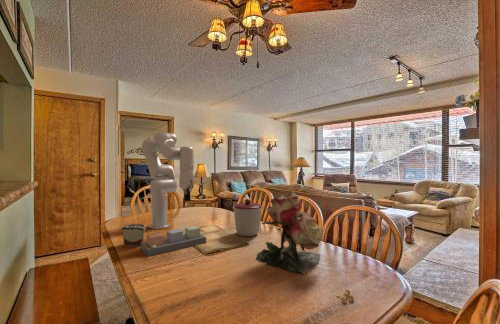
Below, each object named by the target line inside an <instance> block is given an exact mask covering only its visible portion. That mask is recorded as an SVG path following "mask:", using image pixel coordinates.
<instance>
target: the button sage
mask: <svg viewBox="0 0 500 324" xmlns="http://www.w3.org/2000/svg"><path fill="white" fill-rule="evenodd" d="M184 234H185V237H187V238H188V239H192V238H197V237H200V234H201V227H199V226H196V225H192V226H185V227H184Z"/></svg>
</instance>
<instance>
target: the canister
mask: <svg viewBox="0 0 500 324" xmlns="http://www.w3.org/2000/svg"><path fill="white" fill-rule="evenodd" d="M232 209H233V213H234V222H235V223H234V224H235V230H236V231H235V232H236V234H238V235H239V236H242V237H254V236H256V235H258V234H259V232H260V227H261V218H262V209H264V208H263V206H262V205H261V204H259V203H255V202H252V201H251V199H250V198H246V199H245V200H244V202H240V203H236V204H235V205H233V206H232Z"/></svg>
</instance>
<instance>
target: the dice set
mask: <svg viewBox="0 0 500 324" xmlns="http://www.w3.org/2000/svg"><path fill="white" fill-rule="evenodd" d="M336 298H340V300H341V303H343V304H348V303H347V299H348V301H350V302H354V301H355V300H354V299H355V297H354V295H352V294H351V290H350V289H345V291H343V296H341V294H336Z"/></svg>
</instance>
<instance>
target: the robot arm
mask: <svg viewBox="0 0 500 324" xmlns="http://www.w3.org/2000/svg"><path fill="white" fill-rule="evenodd" d="M177 143H178V137H177V136H176V134H174V133H172V132H164V131H163V132H161V131H159V132H156V133H155V134H154V136H153V138H146V139H144V140H143V141H142V144H141V150H142V154H143V156H144V158H145V160H146V164H147V167H148V171H149V176H150V177H151V178H152V180H151V182H150V183H149V187H150V188H149V189H150V194H151V223H150V224H149V227H148V228H150V229H153V230H157V229H158V230H159V229H166V228H168V227H170V223H169V222H168V199H167V197H166V195H165V193H167V194H168V193H174V192H176V191H177V190H178V187H179V188H180V189H182V191H183V192H182V193H183V201H184V202H190V201H191V192H192V191H193V188H194V187H195V177H194V170H195V169H194V167H195V166H194V147H192V146H176V144H177ZM156 152H160V155H162V157H164V159H166V160H170V161H179V178H178V179H179V181H177V177H176V173H175V169H174V167H173V166H172V164H166V163H162V162H161V157H159V155H158V154H157V153H156ZM178 182H179V183H178Z"/></svg>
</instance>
